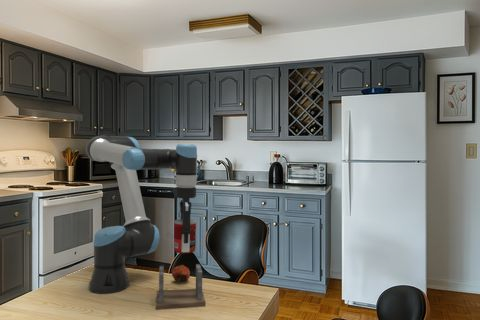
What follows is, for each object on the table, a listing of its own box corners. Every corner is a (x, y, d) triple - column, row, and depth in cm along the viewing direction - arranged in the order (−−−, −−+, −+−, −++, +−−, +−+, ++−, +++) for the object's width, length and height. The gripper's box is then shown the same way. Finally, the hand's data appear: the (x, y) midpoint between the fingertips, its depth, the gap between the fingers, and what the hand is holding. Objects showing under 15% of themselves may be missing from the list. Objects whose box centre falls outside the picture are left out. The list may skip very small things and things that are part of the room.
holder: (156, 294, 144) (156, 264, 144) (201, 292, 147) (202, 262, 147) (155, 309, 130) (155, 276, 130) (205, 306, 133) (205, 273, 133)
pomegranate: (188, 290, 155) (195, 270, 163) (182, 279, 151) (189, 259, 159) (172, 290, 158) (180, 270, 165) (165, 279, 154) (173, 259, 161)
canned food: (192, 254, 135) (192, 223, 135) (170, 252, 136) (171, 222, 136) (198, 248, 142) (198, 219, 142) (177, 247, 144) (178, 218, 143)
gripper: (174, 183, 148) (172, 242, 148) (177, 189, 128) (175, 257, 128) (193, 184, 150) (192, 241, 150) (199, 189, 129) (197, 256, 130)
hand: (184, 248), depth 139 cm, fingers closed on canned food, 8 cm apart
